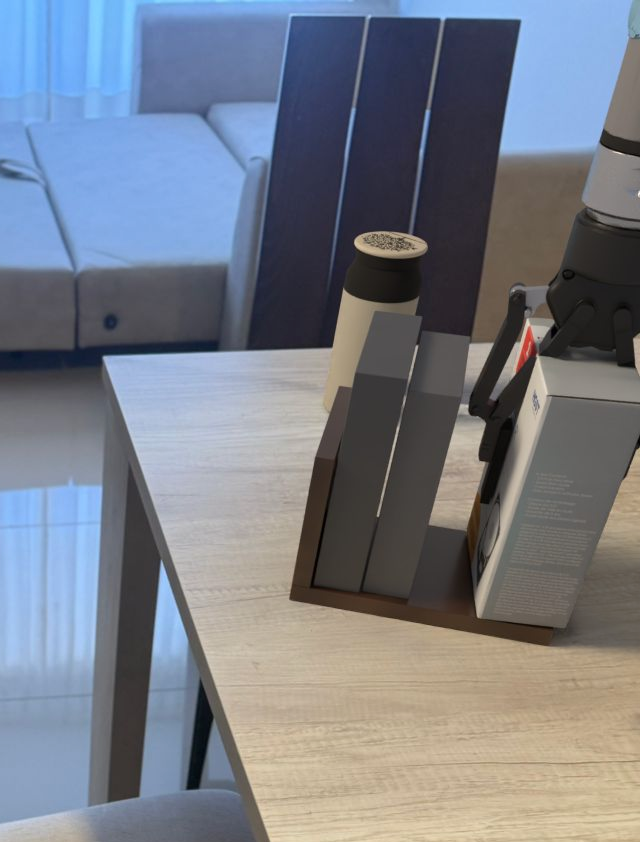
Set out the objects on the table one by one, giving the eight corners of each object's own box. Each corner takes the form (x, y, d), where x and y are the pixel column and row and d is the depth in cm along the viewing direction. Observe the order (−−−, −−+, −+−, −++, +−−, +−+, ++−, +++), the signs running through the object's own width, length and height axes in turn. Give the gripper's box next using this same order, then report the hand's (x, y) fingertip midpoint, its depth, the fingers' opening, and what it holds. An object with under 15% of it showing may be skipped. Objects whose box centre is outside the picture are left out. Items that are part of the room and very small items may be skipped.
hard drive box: (462, 530, 109) (526, 314, 95) (547, 539, 108) (623, 322, 94) (474, 620, 97) (547, 389, 84) (568, 632, 96) (658, 400, 83)
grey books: (421, 525, 109) (474, 322, 96) (408, 602, 99) (465, 387, 87) (334, 511, 111) (374, 310, 98) (312, 585, 101) (354, 372, 88)
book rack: (548, 558, 108) (597, 420, 99) (548, 646, 97) (602, 500, 88) (313, 520, 113) (339, 385, 104) (288, 599, 102) (314, 457, 93)
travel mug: (353, 429, 128) (388, 258, 116) (307, 403, 133) (336, 236, 121) (407, 415, 131) (447, 247, 119) (360, 389, 136) (394, 226, 124)
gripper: (481, 213, 82) (408, 505, 97) (800, 245, 77) (671, 547, 93) (485, 185, 87) (415, 466, 103) (784, 214, 82) (664, 504, 98)
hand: (537, 504), depth 98 cm, fingers closed on hard drive box, 8 cm apart
